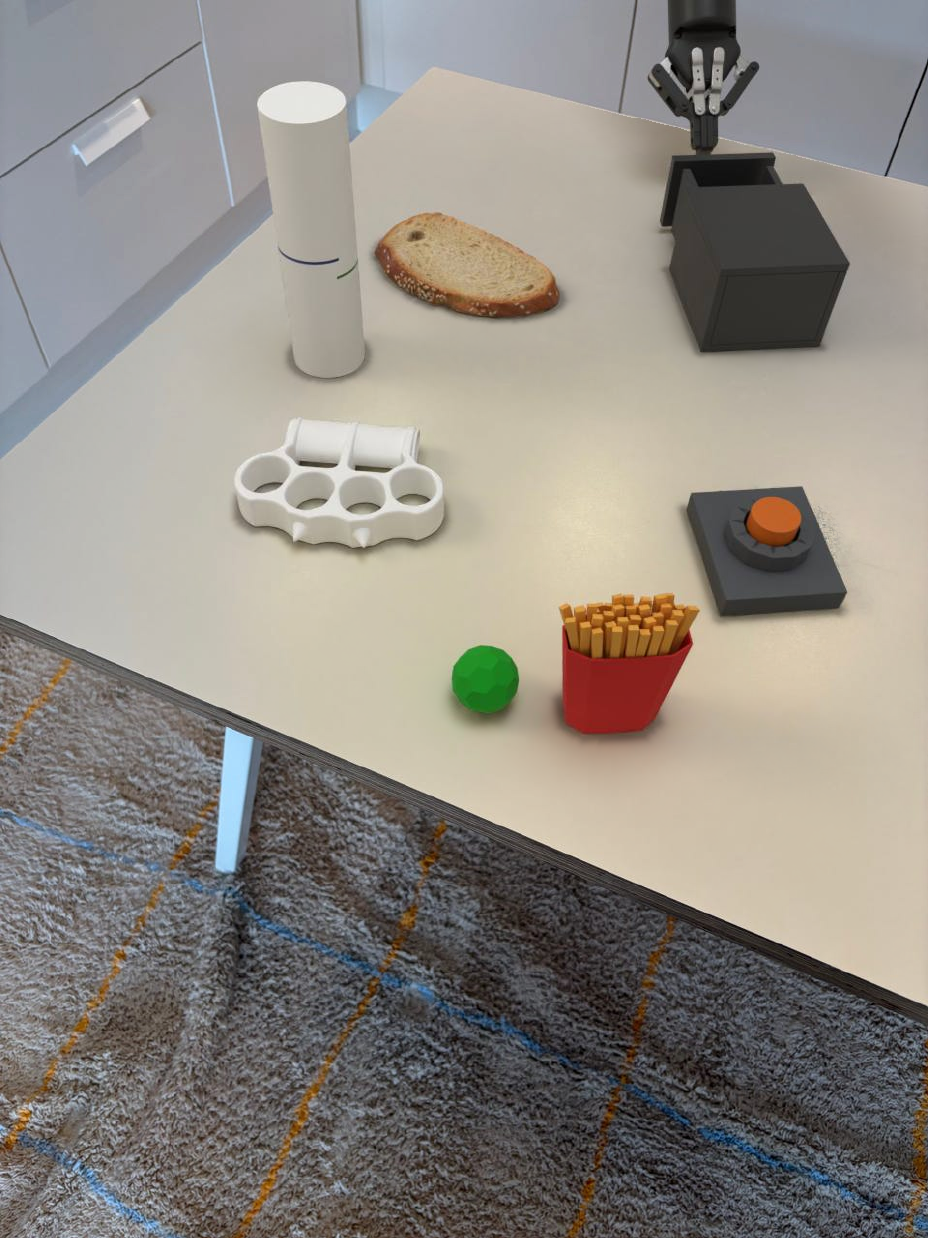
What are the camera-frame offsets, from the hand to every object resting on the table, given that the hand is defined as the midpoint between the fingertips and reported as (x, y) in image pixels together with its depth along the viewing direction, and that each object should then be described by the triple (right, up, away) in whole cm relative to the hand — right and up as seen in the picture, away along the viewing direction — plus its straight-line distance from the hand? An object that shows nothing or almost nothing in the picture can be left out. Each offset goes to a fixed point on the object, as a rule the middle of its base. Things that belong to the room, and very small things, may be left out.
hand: (704, 152), depth 115 cm
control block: (-3, -49, -30) cm, 57 cm away
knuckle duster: (-38, -43, -26) cm, 64 cm away
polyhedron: (-26, -60, -39) cm, 76 cm away
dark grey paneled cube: (+2, -20, -8) cm, 22 cm away
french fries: (-17, -61, -39) cm, 75 cm away
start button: (-3, -46, -33) cm, 57 cm away
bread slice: (-28, -16, -5) cm, 33 cm away
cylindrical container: (-41, -27, -14) cm, 52 cm away
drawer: (+1, -11, -2) cm, 12 cm away
